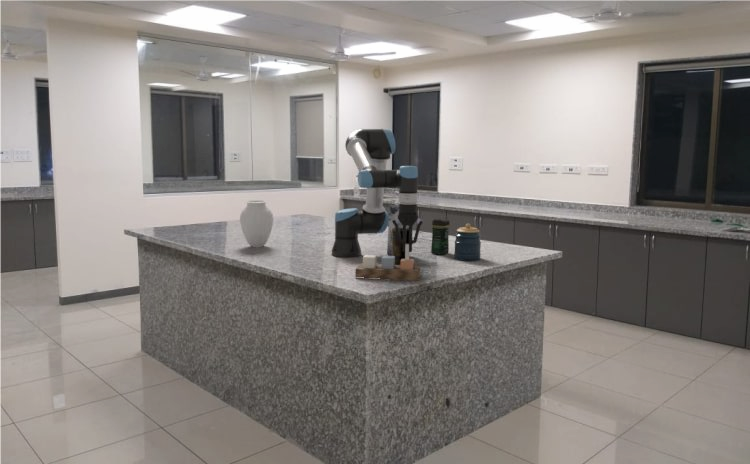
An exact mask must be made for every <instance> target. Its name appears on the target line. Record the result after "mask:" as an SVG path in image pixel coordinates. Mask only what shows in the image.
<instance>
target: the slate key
mask: <svg viewBox="0 0 750 464" xmlns="http://www.w3.org/2000/svg"><path fill="white" fill-rule="evenodd" d="M381 265H382V267H381V269H395V256H391V255H383V256H382V257H381Z"/></svg>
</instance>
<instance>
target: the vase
mask: <svg viewBox="0 0 750 464" xmlns="http://www.w3.org/2000/svg"><path fill="white" fill-rule="evenodd" d="M266 203H267V201H265V200H248V201H246V204H247V205H246V206H245V207H244V208H243V209H242V211H241V213H240V216H239V224H240V226H241V230H242V231H241V232H242V234H243V236H244V238H245V241H246V242H247V244H248V245H249V247H251V246H252V247H261V246H264V247H265V245H266V244H267V242H268V240H269V238H270V235H271V233H272V229H273V226H274V216H273V212H272V210H271V209H270V208H269V207H268V206H267V205H266ZM252 247H251V248H252ZM261 248H262V247H261Z"/></svg>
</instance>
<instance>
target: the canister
mask: <svg viewBox="0 0 750 464" xmlns="http://www.w3.org/2000/svg"><path fill="white" fill-rule="evenodd" d="M454 237H455V240H454V255H453V256H454V259H456V260H459V261H463V262H472V261H474V262H475V261H479V260H480V259H481V257H482V256H481V255H482V254H481V251H482V250H481V246H482V242H481V237H482V235H481V233H480V230H479V229H478V228H477V227H473V226H472V225H471V223H466V224H465V226H463V227H462V226H460V227H458V228H457V229H456V233H455V234H454Z"/></svg>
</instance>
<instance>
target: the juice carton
mask: <svg viewBox="0 0 750 464" xmlns="http://www.w3.org/2000/svg"><path fill="white" fill-rule="evenodd" d="M399 204H400V202H399V201H395V202H394V204H389V205H388V225H387V246H386V247H387V248H386V253H387V256H392V237H393V234H392V233H393V232H392V229H393V228H395V225H394V224H393V222H392V221H393V220H394V219H396V218H398V215H399ZM398 222H399V223H398V225H399V228H403V225H402V224H401V222H400V221H399V220H398ZM406 228H408V229H409V226H406Z"/></svg>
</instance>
